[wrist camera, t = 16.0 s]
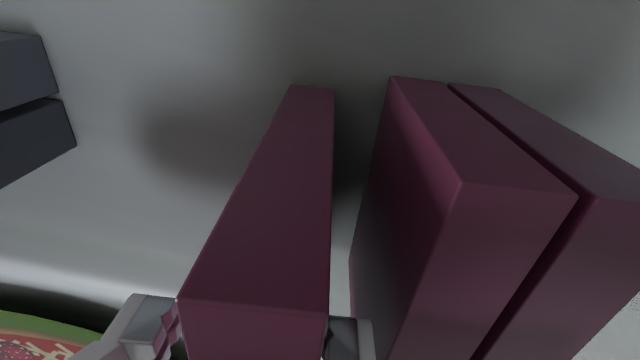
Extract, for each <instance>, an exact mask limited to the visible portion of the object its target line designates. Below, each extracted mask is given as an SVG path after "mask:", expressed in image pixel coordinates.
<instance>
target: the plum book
mask: <svg viewBox="0 0 640 360" xmlns="http://www.w3.org/2000/svg"><path fill="white" fill-rule="evenodd" d="M334 107H335V90H334V89H325V88H317V87H308V86H300V85H290V87H289V89H288V91H287V93H286V94H285V96H284V98H283V100H282V102H281V104H280V106H279V107H278V109H277V111H276V113H275V115H274V117H273V119H272V120H271V122H270V124H269V126H268V128H267V130H266V132H265V133H264V135H263V137H262V139H261V141H260V143H259V145H258V146H257V148H256V150H255V152H254V154H253V156H252V158H251V159H250V161H249V163H248V165H247V167H246V169H245V171H244V172H243V174H242V176H241V178H240V180H239V182H238V184H237V185H236V187H235V189H234V191H233V193H232V195H231V197H230V198H229V200H228V202H227V204H226V206H225V208H224V210H223V211H222V213H221V215H220V217H219V219H218V221H217V223H216V224H215V226H214V228H213V230H212V232H211V234H210V236H209V237H208V239H207V241H206V243H205V245H204V247H203V249H202V250H201V252H200V254H199V256H198V258H197V260H196V262H195V263H194V265H193V267H192V269H191V271H190V273H189V275H188V276H187V278H186V280H185V282H184V284H183V286H182V288H181V289H180V291H179V293H178V295H177V297H176V301H175V303H176V307H177V312H178V316H179V321H180V325H181V329H182V334H183V338H184V343H185V347H186V351H187V356H188V360H320V359H321V354H322V349H323V344H324V338H325V333H326V328H327V323H328V318H329V292H330V255H331V218H332V181H333V144H334Z"/></svg>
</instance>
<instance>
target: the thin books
mask: <svg viewBox="0 0 640 360" xmlns="http://www.w3.org/2000/svg"><path fill="white" fill-rule="evenodd" d="M349 282H350V307H351V317H354V318H361V319H370V321H371V323H372V329H373V337H374V346H375V354H376V360H571V359H572V358H573V357H574V356H575V355H576V354H577V353H578V352H579V351H580V350H581V349H582V348H583V347H584V346H585V345H586V344H587V343H588V342H589V341H590V340H591V339H592V338H593V337H594V336H595V335H596V334H597V333H598V332H599V331H600V330H601V329H602V328H603V327H604V326H605V325H606V324H607V323H608V322H609V321H610V320H611V319H612V318H613V317H614V316H615V315H616V314H617V313H618V312H619V311H620V310H621V309H622V308H623V307H624V306H625V305H626V304H627V303H628V302H629V301H630V300H631V299H632V298H633V297H634V296H635V295H636V294H637V293H638V292H639V291H640V169H639V168H637V167H635V166H633V165H632V164H630V163H628V162H626V161H625V160H623V159H621V158H619V157H618V156H616V155H614V154H612V153H610V152H609V151H607V150H605V149H603V148H602V147H600V146H598V145H596V144H595V143H593V142H591V141H589V140H588V139H586V138H584V137H582V136H580V135H579V134H577V133H575V132H573V131H572V130H570V129H568V128H566V127H565V126H563V125H561V124H559V123H558V122H556V121H554V120H552V119H551V118H549V117H547V116H545V115H543V114H542V113H540V112H538V111H536V110H535V109H533V108H531V107H529V106H528V105H526V104H524V103H522V102H521V101H519V100H517V99H515V98H513V97H512V96H510V95H508V94H506V93H505V92H503V91H501V90H499V89H493V88H485V87H477V86H469V85H461V84H453V83H449V84H448V87H446V86H444V85H443V84H442V83H441V82H437V81H429V80H421V79H413V78H405V77H397V76H390V78H389V82H388V87H387V91H386V96H385V100H384V105H383V109H382V113H381V118H380V122H379V127H378V131H377V136H376V140H375V145H374V149H373V154H372V158H371V163H370V167H369V171H368V176H367V180H366V185H365V189H364V194H363V198H362V203H361V207H360V212H359V216H358V220H357V225H356V229H355V234H354V238H353V243H352V247H351V252H350V256H349Z"/></svg>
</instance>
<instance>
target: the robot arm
mask: <svg viewBox="0 0 640 360" xmlns="http://www.w3.org/2000/svg"><path fill="white" fill-rule="evenodd" d="M175 301H176V298H169V297H161V296H152V295H146V294H136V293H133V294H132V295H131V296H130V297H129V298H128V299H127V300H126V302H125V303H124V305H123V306H122V308H121V309H120V311H119V312H118V314H117V315H116V317H115V318H114V320H113V321H112V323H111V324H110V326H109V327H108V329H107V330H106V332H105V333H104V335H103V336H102V338H101V339H100V341H98V340H95V341H93V342H92V343H90V344H89V345H87V346H86V347H84V348H83V349H81V350H80V351H78V352H77V353H75V354H74V355H72V356H71V357H70V358H68V359H67V360H169V359H170V356H171V351H170V347H171V346H172V345H173V344H174V343H175V342H177V341H178V338H179V336H180V334H181V331H182V329H181V325H180V321H179V316H178V312H177V307H176V303H175ZM321 357H322V358H323V360H376V354H375V346H374V337H373V329H372V323H371V321H370V319H361V318H354V317H344V316H333V315H329V318H328V323H327V328H326V333H325V338H324V344H323V349H322V354H321Z"/></svg>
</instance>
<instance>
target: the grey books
mask: <svg viewBox="0 0 640 360" xmlns="http://www.w3.org/2000/svg"><path fill="white" fill-rule="evenodd" d="M56 92H58V89H57V86H56V83H55V80H54V77H53V74H52V71H51V68H50V65H49V62H48V59H47V56H46V53H45V50H44V47H43V45H42V42H41V39H40V36H35V35H27V34H19V33H11V32H3V31H0V189H2V188H3V187H5V186H7V185H9V184H10V183H12V182H14V181H16V180H17V179H19V178H21V177H23V176H25V175H26V174H28V173H30V172H32V171H33V170H35V169H37V168H39V167H40V166H42V165H44V164H46V163H47V162H49V161H51V160H53V159H55V158H56V157H58V156H60V155H62V154H63V153H65V152H67V151H69V150H70V149H72V148H74V147H76V143H75V140H74V137H73V134H72V131H71V128H70V125H69V122H68V119H67V116H66V113H65V110H64V107H63V104H62V102H61V101H58V100H49V99H41V98H42V97H44V96H47V95H50V94H53V93H56Z"/></svg>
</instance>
